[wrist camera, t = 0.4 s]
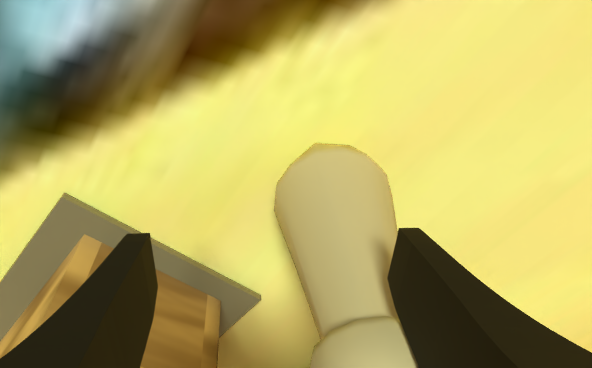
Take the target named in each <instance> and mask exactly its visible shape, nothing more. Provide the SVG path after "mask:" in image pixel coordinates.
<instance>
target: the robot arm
mask: <svg viewBox="0 0 592 368" xmlns="http://www.w3.org/2000/svg"><path fill="white" fill-rule="evenodd" d="M387 279H388V283H389V287H390V291H391V295H392V299H393V303H394V306H395V310H396V312H397V315H398V317H399V320H400V322H401V325H402V327H403V330H404V332H405V335H406V337H407V340H408V342H409V345H410V347H411V350H412V352H413V354H414V357H415V359H416V362H417V364H418V367H419V368H592V353H591V352H589V351H587V350H586V349H584V348H582V347H580V346H578V345H576V344H574V343H573V342H571V341H569V340H567V339H566V338H564V337H562V336H561V335H559V334H557V333H555V332H554V331H552V330H550V329H549V328H547V327H545V326H544V325H542V324H540V323H539V322H537V321H536V320H534V319H533V318H531V317H530V316H528V315H527V314H525V313H524V312H522V311H521V310H519V309H518V308H516V307H515V306H513V305H512V304H510V303H509V302H508V301H506V300H505V299H503V298H502V297H501V296H499V295H498V294H497V293H495V292H494V291H493V290H492V289H490V288H489V287H488V286H486V285H485V284H484V283H482V282H481V281H480V280H479V279H477V278H476V277H475V276H474V275H473V274H471V273H470V272H469V271H468V270H467V269H465V268H464V267H463V266H462V265H461V264H459V263H458V262H457V261H456V260H455V259H454V258H453V257H451V256H450V255H449V254H448V253H447V252H446V251H445V250H444V249H442V248H441V247H440V246H439V245H438V244H437V243H436V242H434V241H433V240H432V239H431V238H430V237H429V236H428V235H426V234H425V233H424V232H423V231H422V230H421V229H419V228H399V230H398V235H397V239H396V243H395V247H394V252H393V256H392V260H391V264H390V269H389V273H388V277H387ZM157 291H158V282H157V276H156V269H155V263H154V257H153V250H152V244H151V238H150V233H132V234H126V235H125V236H124V237H123V238H122V240H121V241H120V242H119V243H118V244H117V245H116V247H115V248H114V249H113V250H112V251H111V253H110V254H109V255H108V256H107V257H106V258H105V260H104V261H103V262H102V263H101V264H100V265H99V267H98V268H97V269H96V270H95V271H94V272H93V273H92V274H91V275H90V277H89V278H88V279H87V280H86V281H85V282H84V283H83V284H82V285H81V286H80V287H79V288H78V290H77V291H76V292H75V293H74V294H73V295H72V296H71V297H70V298H69V299H68V300H67V301H66V302H65V303H64V304H63V305H62V306H61V307H60V308H59V309H58V310H57V311H56V312H55V313H53V314H52V315H51V316H50V317H49V318H48V319H47V320H46V321H45V322H44V323H43V324H42V325H40V326H39V327H38V328H37V329H36V330H35V331H34V332H32V333H31V334H30V335H29V336H28V337H27V338H25V339H24V340H23V341H22V342H21V343H20V344H18V345H17V346H16V347H15V348H13V349H12V350H11V351H10V352H8V353H7V354H6V355H4V356H3V357H2V358H0V368H140V366H141V362H142V359H143V355H144V351H145V348H146V344H147V340H148V337H149V333H150V329H151V326H152V322H153V318H154V311H155V305H156V298H157Z"/></svg>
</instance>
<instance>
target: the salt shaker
mask: <svg viewBox="0 0 592 368" xmlns="http://www.w3.org/2000/svg"><path fill="white" fill-rule="evenodd" d="M274 212H275V214H276V217H277V219H278V222H279V225H280V227H281V230H282V233H283V235H284V238H285V240H286V243H287V246H288V248H289V251H290V254H291V256H292V259H293V261H294V264H295V267H296V269H297V272H298V275H299V278H300V281H301V284H302V287H303V289H304V292H305V295H306V298H307V301H308V304H309V307H310V310H311V312H312V315H313V318H314V321H315V324H316V327H317V330H318V333H319V336H320V338H321V341H320V342H319V343H318V344H317V345H315V346H314V350H313V354H312V358H311V363H310V367H309V368H419V367H418V364H417V362H416V359H415V357H414V354H413V352H412V350H411V347H410V345H409V342H408V340H407V337H406V335H405V332H404V330H403V327H402V325H401V322H400V320H399V317H398V315H397V312H396V310H395V306H394V303H393V299H392V295H391V291H390V287H389V283H388V279H387V277H388V273H389V269H390V264H391V260H392V256H393V252H394V247H395V243H396V239H397V235H398V231H397V225H396V218H395V212H394V205H393V199H392V194H391V190H390V186H389V182H388V179H387V175H386V173H385V172H384V171H383V169H382V168H381V167H379V166H378V165H377V164H376V163H375V162H374V161H373V160H372V159H371V158H370V157H369V156H368V155H367V154H365V153H363V152H361V151H359V150H357V149H356V148H354V147H352V146H350V145H337V144H322V143H315V144H313V145H312V146H311V147H310V148H309V149H308V150H307V151H305V152H304V153H303V154H302V155H301V156H300V157H299V158H297V159H296V160H295V161H294V162H293V163H292V164H291V165H290V166H289V167H288V169H287V170H286V171H285V173H284V174H283V176H282V177H281V178H280V180H279V181H278V183H277V187H276V195H275V206H274Z"/></svg>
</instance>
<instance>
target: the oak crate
mask: <svg viewBox="0 0 592 368" xmlns="http://www.w3.org/2000/svg"><path fill="white" fill-rule="evenodd" d="M113 249H114V248H112V247H110V246H108V245H106V244H104V243H102V242H100V241H98V240H96V239H94V238H92V237H89V236H87V235H85V234H84V235H83V237H82V238H81V239H80V240H79V242H78V243H77V244H76V246H75V247H74V248H73V249H72V251H71V252H70V253H69V254H68V256H67V257H66V258H65V260H64V261H63V262H62V263H61V265H60V266H59V267H58V269H57V270H56V271H55V272H54V274H53V275H52V276H51V277H50V279H49V280H48V281H47V283H46V284H45V285H44V286H43V288H42V289H41V290H40V292H39V293H38V294H37V295H36V297H35V298H34V299H33V300H32V302H31V303H30V304H29V306H28V307H27V308H26V309H25V311H24V312H23V313H22V315H21V316H20V317H19V318H18V320H17V321H16V322H15V323H14V325H13V326H12V327H11V329H10V330H9V331H8V332H7V334H6V335H5V336H4V338H3V339H2V340H1V341H0V358H2V357H3V356H4V355H6V354H7V353H8V352H10V351H11V350H12V349H13V348H15V347H16V346H17V345H18V344H20V343H21V342H22V341H23V340H24V339H25V338H27V337H28V336H29V335H30V334H31V333H32V332H34V331H35V330H36V329H37V328H38V327H39V326H40V325H42V324H43V323H44V322H45V321H46V320H47V319H48V318H49V317H50V316H51V315H52V314H53V313H55V312H56V311H57V310H58V309H59V308H60V307H61V306H62V305H63V304H64V303H65V302H66V301H67V300H68V299H69V298H70V297H71V296H72V295H73V294H74V293H75V292H76V291H77V290H78V288H79V287H80V286H81V285H82V284H83V283H84V282H85V281H86V280H87V279H88V278H89V277H90V275H91V274H92V273H93V272H94V271H95V270H96V269H97V268H98V267H99V265H100V264H101V263H102V262H103V261H104V260H105V258H106V257H107V256H108V255H109V254H110V253H111V251H112V250H113ZM156 276H157V282H158V291H157V298H156V305H155V311H154V318H153V322H152V326H151V329H150V333H149V337H148V340H147V344H146V348H145V351H144V355H143V359H142V362H141V366H140V368H217V360H218V342H219V324H220V307H221V301H220V300H218V299H216V298H214V297H212V296H210V295H208V294H206V293H204V292H202V291H200V290H198V289H196V288H193V287H191V286H189V285H187V284H185V283H183V282H181V281H179V280H177V279H175V278H173V277H171V276H169V275H167V274H165V273H163V272H161V271H159V270H157V269H156Z"/></svg>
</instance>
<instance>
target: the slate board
mask: <svg viewBox="0 0 592 368" xmlns="http://www.w3.org/2000/svg"><path fill="white" fill-rule="evenodd" d="M132 233H141V232H139V231H137V230H135V229H133V228H131V227H129V226H127V225H125V224H123V223H122V222H120V221H118V220H116V219H114V218H112V217H110V216H108V215H106V214H104V213H102V212H100V211H99V210H97V209H95V208H93V207H91V206H89V205H87V204H85V203H83V202H81V201H79V200H78V199H76V198H74V197H72V196H70V195H68V194H66V193H64V194H63V195H62V197H61V198H60V199H59V201H58V202H57V203H56V205H55V206H54V208H53V209H52V210H51V212H50V213H49V215H48V216H47V217H46V219H45V220H44V222H43V223H42V224H41V226H40V227H39V229H38V230H37V231H36V233H35V234H34V236H33V237H32V238H31V240H30V241H29V242H28V244H27V245H26V247H25V248H24V249H23V251H22V252H21V254H20V255H19V256H18V258H17V259H16V261H15V262H14V263H13V265H12V266H11V268H10V269H9V270H8V272H7V273H6V275H5V276H4V277H3V279H2V280H1V281H0V341H1V340H2V339H3V338H4V336H5V335H6V334H7V332H8V331H9V330H10V329H11V327H12V326H13V325H14V323H15V322H16V321H17V320H18V318H19V317H20V316H21V315H22V313H23V312H24V311H25V309H26V308H27V307H28V306H29V304H30V303H31V302H32V300H33V299H34V298H35V297H36V295H37V294H38V293H39V292H40V290H41V289H42V288H43V286H44V285H45V284H46V283H47V281H48V280H49V279H50V277H51V276H52V275H53V274H54V272H55V271H56V270H57V269H58V267H59V266H60V265H61V263H62V262H63V261H64V260H65V258H66V257H67V256H68V254H69V253H70V252H71V251H72V249H73V248H74V247H75V246H76V244H77V243H78V242H79V240H80V239H81V238H82V237H83V235H84V234H85V235H87V236H89V237H92V238H94V239H96V240H98V241H100V242H102V243H104V244H106V245H108V246H110V247H112V248H115V247H116V245H117V244H118V243H119V242H120V241H121V240H122V238H123V237H124V236H125V235H126V234H132ZM151 244H152V250H153V257H154V263H155V269H157V270H159V271H161V272H163V273H165V274H167V275H169V276H171V277H173V278H175V279H177V280H179V281H181V282H183V283H185V284H187V285H189V286H191V287H193V288H196V289H198V290H200V291H202V292H204V293H206V294H208V295H210V296H212V297H214V298H216V299H218V300H220V301H221V307H220V324H219V337H220V336H221V335H223V334H224V333H225V332H226V331H227V330H228V329H229V328H230V327H231V326H233V325H234V324H235V323H236V322H237V321H238V320H239V319H240V318H241V317H242V316H244V315H245V314H246V313H247V312H248V311H249V310H250V309H251V308H252V307H254V306H255V305H256V304H257V303H258V302H259V301H260V300H261V295H259V294H257V293H255V292H254V291H252V290H250V289H248V288H246V287H244V286H242V285H240V284H238V283H236V282H234V281H232V280H231V279H229V278H227V277H225V276H223V275H221V274H219V273H217V272H215V271H213V270H211V269H210V268H208V267H206V266H204V265H202V264H200V263H198V262H196V261H194V260H192V259H190V258H188V257H187V256H185V255H183V254H181V253H179V252H177V251H175V250H173V249H171V248H169V247H167V246H166V245H164V244H162V243H160V242H158V241H156V240H154V239H152V238H151Z"/></svg>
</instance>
